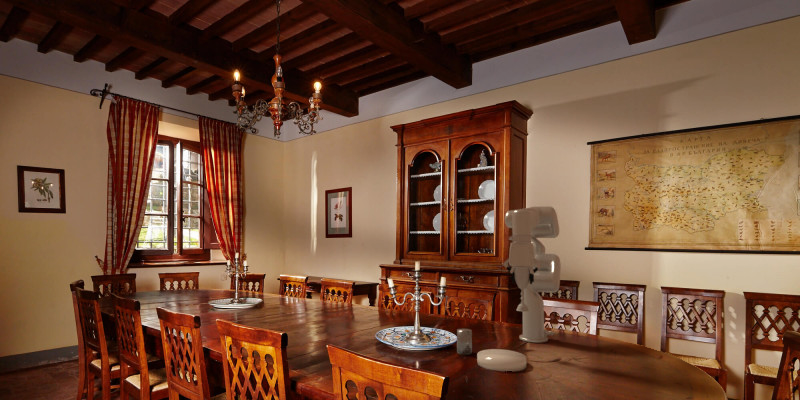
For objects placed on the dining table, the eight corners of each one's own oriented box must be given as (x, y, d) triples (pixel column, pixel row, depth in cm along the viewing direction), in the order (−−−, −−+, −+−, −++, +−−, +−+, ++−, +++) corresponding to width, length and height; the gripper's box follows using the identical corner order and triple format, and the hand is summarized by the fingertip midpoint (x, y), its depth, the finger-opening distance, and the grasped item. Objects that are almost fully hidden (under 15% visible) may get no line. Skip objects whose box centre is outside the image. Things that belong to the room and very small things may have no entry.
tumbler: (468, 350, 178) (468, 328, 178) (474, 354, 172) (474, 331, 173) (454, 351, 176) (454, 329, 177) (460, 355, 170) (460, 332, 171)
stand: (511, 355, 170) (511, 348, 170) (536, 369, 153) (535, 361, 153) (469, 358, 166) (469, 350, 166) (490, 373, 149) (489, 364, 149)
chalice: (530, 309, 177) (529, 265, 179) (533, 312, 170) (533, 266, 172) (512, 308, 178) (511, 265, 179) (515, 311, 171) (514, 266, 172)
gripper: (499, 239, 176) (499, 283, 175) (543, 240, 170) (544, 285, 168) (501, 239, 183) (502, 281, 182) (544, 239, 177) (544, 283, 175)
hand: (522, 282), depth 175 cm, fingers closed on chalice, 6 cm apart
